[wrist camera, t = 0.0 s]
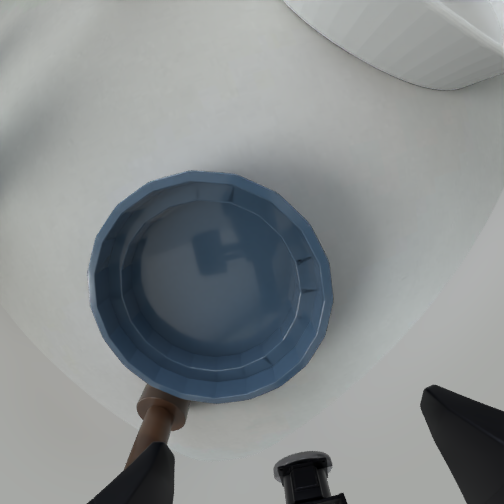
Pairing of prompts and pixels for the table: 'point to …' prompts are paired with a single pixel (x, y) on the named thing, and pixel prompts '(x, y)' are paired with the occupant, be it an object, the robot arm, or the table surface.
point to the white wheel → (415, 36)
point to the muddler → (157, 418)
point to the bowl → (210, 287)
